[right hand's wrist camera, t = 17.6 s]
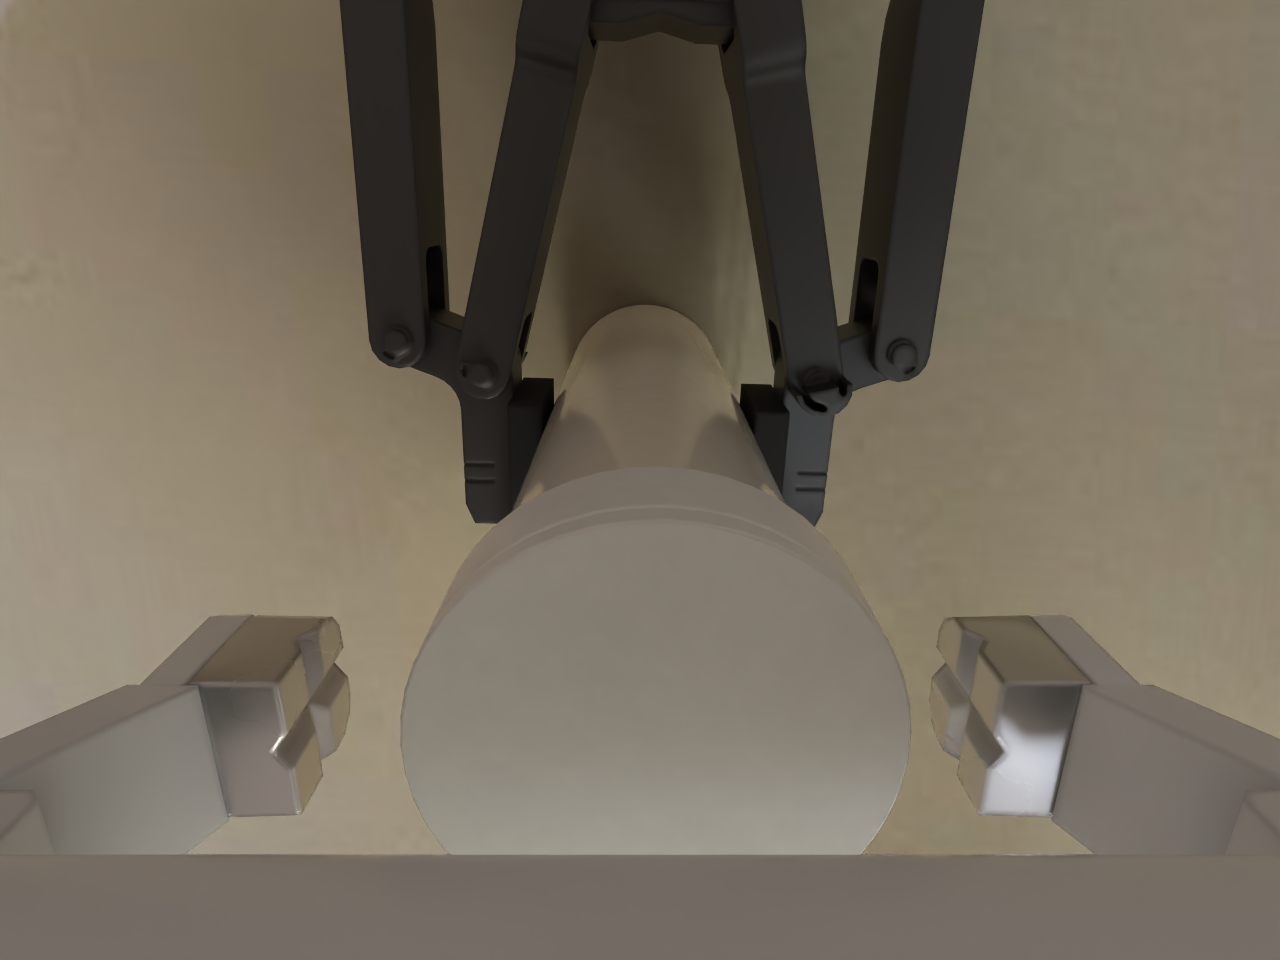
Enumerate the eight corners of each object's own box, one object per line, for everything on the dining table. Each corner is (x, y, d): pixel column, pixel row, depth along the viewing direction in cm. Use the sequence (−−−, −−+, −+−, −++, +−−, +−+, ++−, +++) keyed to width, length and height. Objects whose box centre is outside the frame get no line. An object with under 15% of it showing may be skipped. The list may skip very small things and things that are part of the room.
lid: (841, 842, 11) (873, 947, 9) (447, 831, 11) (415, 936, 9) (901, 472, 9) (953, 530, 8) (423, 456, 9) (379, 510, 7)
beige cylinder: (591, 463, 26) (513, 902, 10) (553, 323, 25) (390, 577, 8) (731, 433, 26) (884, 837, 10) (702, 288, 24) (830, 485, 8)
